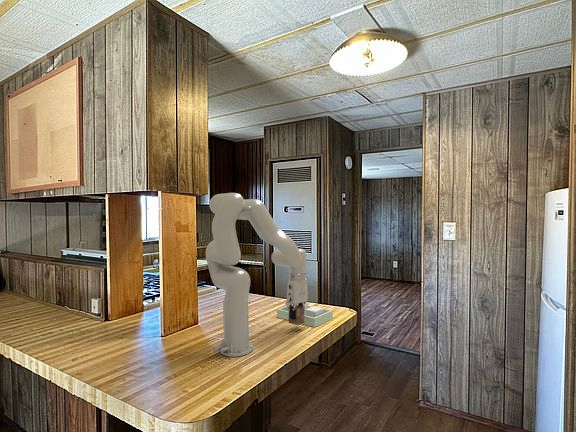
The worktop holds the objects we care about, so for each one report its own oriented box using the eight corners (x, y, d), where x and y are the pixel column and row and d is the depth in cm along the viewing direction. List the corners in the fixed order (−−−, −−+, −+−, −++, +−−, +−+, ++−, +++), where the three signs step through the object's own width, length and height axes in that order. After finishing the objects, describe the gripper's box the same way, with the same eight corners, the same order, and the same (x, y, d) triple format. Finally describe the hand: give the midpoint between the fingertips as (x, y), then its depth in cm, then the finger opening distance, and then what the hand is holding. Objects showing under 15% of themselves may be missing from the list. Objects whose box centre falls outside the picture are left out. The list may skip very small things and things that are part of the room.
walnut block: (297, 325, 145) (297, 309, 145) (288, 322, 148) (288, 307, 148) (304, 322, 148) (304, 306, 148) (295, 320, 152) (295, 304, 152)
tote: (314, 327, 151) (314, 318, 151) (277, 317, 166) (276, 309, 166) (332, 318, 162) (332, 310, 162) (295, 310, 177) (295, 302, 177)
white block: (315, 324, 155) (315, 311, 155) (305, 321, 159) (305, 309, 159) (324, 320, 160) (324, 308, 160) (313, 318, 164) (313, 306, 164)
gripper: (291, 280, 139) (291, 323, 139) (315, 275, 152) (314, 315, 152) (278, 278, 144) (277, 320, 144) (302, 273, 157) (301, 311, 157)
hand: (296, 317), depth 148 cm, fingers closed on walnut block, 4 cm apart
